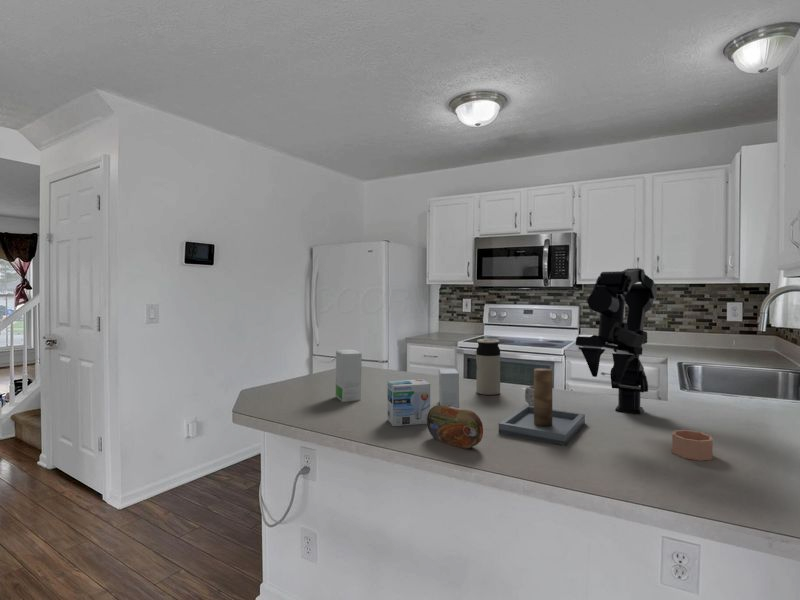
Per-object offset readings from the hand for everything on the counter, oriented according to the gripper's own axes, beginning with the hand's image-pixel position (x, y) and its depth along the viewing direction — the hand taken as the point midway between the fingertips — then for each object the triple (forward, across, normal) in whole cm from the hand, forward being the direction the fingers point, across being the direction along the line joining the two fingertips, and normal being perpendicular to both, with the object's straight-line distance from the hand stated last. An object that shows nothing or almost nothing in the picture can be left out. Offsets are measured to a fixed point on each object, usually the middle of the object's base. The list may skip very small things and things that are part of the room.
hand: (606, 378), depth 115 cm
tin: (+20, -38, +10) cm, 44 cm away
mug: (+12, -1, +22) cm, 25 cm away
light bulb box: (+19, -40, +29) cm, 53 cm away
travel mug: (+10, -2, +45) cm, 46 cm away
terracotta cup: (+14, +3, -20) cm, 25 cm away
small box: (+14, -22, +38) cm, 46 cm away
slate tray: (+15, -12, +8) cm, 21 cm away
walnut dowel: (+14, -13, +8) cm, 20 cm away
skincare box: (+18, -46, +60) cm, 78 cm away
